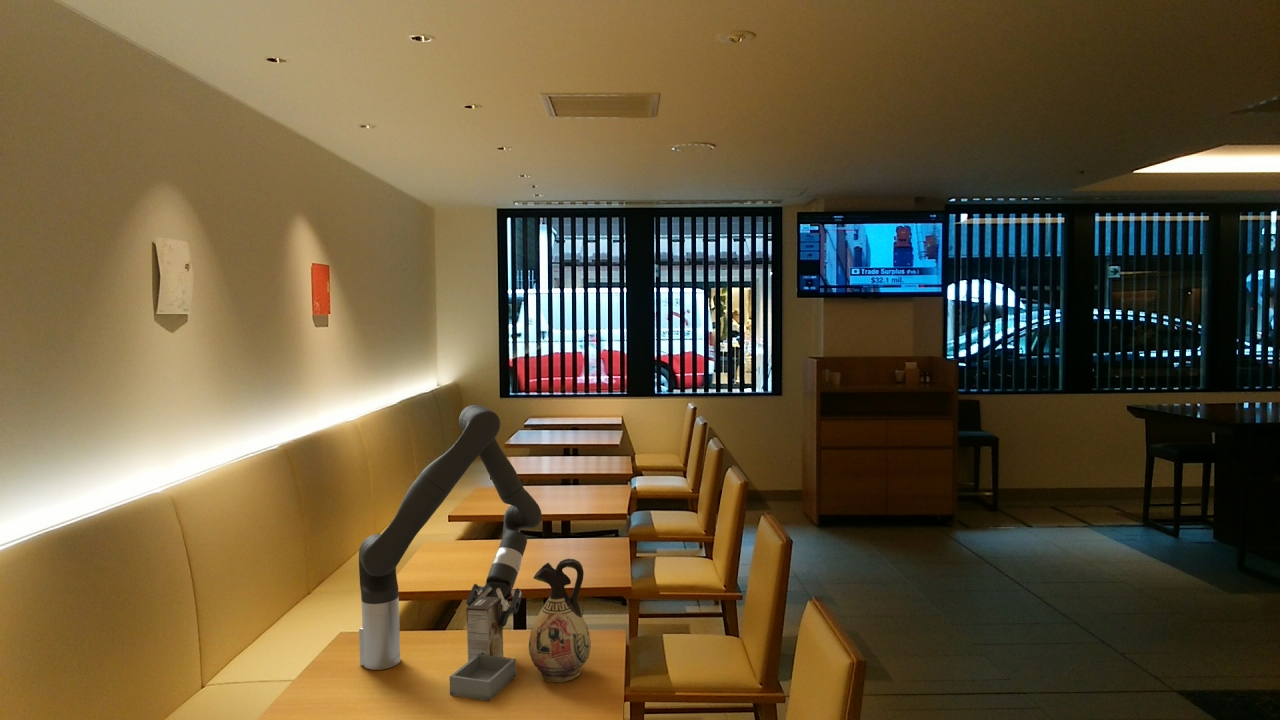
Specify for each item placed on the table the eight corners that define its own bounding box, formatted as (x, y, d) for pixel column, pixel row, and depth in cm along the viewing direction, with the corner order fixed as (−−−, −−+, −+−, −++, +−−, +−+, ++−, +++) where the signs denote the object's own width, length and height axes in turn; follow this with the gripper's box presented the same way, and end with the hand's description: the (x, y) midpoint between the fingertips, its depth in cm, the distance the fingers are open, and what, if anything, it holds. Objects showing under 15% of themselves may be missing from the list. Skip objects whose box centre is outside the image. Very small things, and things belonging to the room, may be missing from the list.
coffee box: (481, 654, 218) (479, 595, 217) (504, 656, 216) (502, 596, 216) (467, 669, 209) (465, 607, 208) (490, 671, 207) (489, 609, 207)
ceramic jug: (524, 689, 197) (522, 567, 195) (534, 662, 212) (532, 548, 211) (594, 689, 197) (592, 567, 195) (599, 662, 212) (598, 548, 210)
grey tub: (449, 695, 194) (449, 676, 194) (478, 671, 207) (478, 653, 207) (489, 701, 191) (489, 682, 191) (516, 676, 204) (515, 658, 204)
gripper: (476, 559, 222) (455, 615, 212) (524, 563, 218) (505, 621, 207) (486, 572, 227) (466, 628, 217) (533, 577, 223) (515, 634, 213)
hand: (485, 625), depth 212 cm, fingers open, 8 cm apart
